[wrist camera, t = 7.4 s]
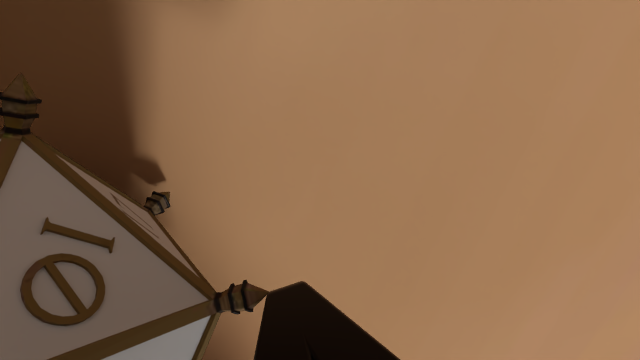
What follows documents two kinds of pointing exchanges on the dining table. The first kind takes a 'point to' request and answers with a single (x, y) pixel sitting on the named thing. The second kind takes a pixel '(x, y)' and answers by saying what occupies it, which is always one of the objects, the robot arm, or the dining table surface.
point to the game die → (92, 261)
